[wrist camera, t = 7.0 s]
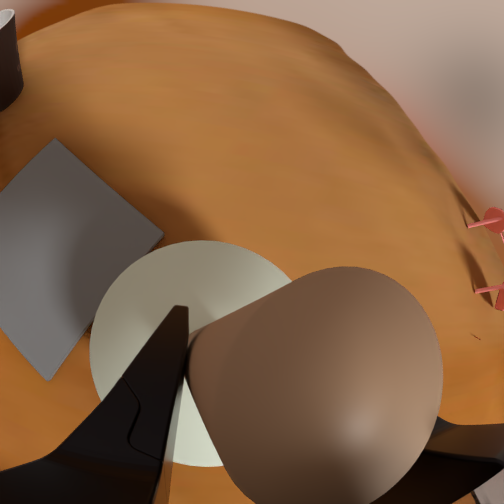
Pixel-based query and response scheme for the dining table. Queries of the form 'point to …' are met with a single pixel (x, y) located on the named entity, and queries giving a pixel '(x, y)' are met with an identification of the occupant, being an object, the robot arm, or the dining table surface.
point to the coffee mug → (9, 60)
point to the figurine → (499, 223)
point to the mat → (62, 253)
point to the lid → (283, 370)
